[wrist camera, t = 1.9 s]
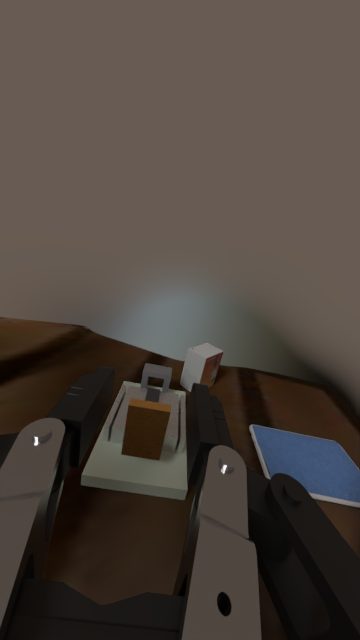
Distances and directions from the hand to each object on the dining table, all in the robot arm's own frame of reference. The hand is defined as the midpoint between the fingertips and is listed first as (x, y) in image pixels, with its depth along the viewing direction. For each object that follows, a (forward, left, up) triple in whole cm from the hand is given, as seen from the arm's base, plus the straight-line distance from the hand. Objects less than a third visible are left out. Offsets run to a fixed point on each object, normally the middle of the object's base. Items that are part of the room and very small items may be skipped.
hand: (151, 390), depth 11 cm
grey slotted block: (-14, +14, -22) cm, 29 cm away
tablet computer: (+9, +34, -25) cm, 43 cm away
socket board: (-14, +14, -24) cm, 31 cm away
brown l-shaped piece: (-12, +12, -19) cm, 25 cm away
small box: (-18, +33, -24) cm, 44 cm away
